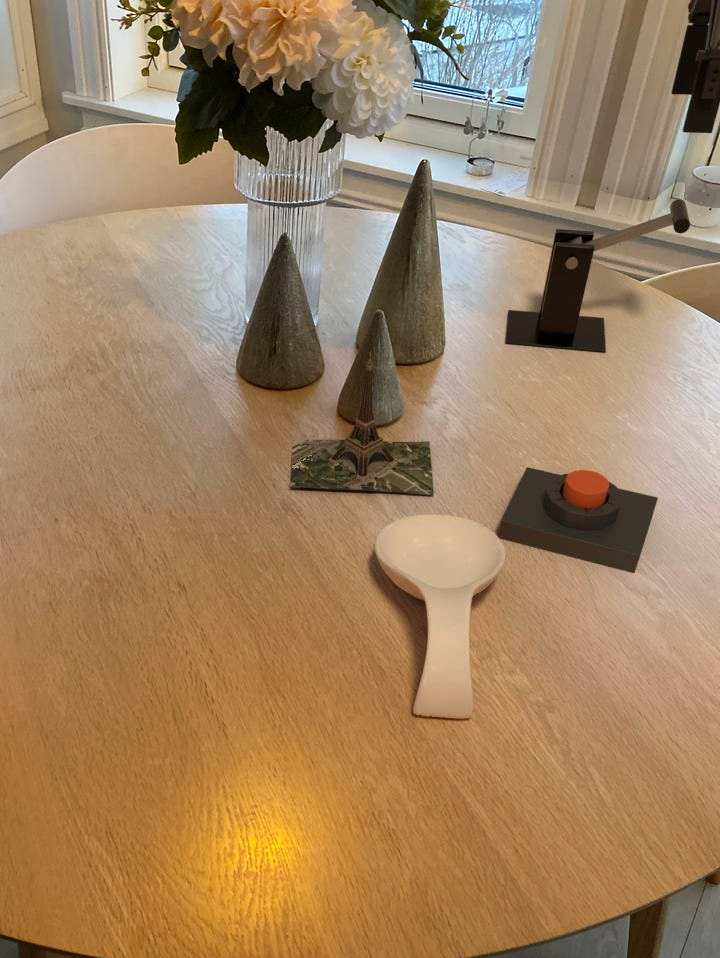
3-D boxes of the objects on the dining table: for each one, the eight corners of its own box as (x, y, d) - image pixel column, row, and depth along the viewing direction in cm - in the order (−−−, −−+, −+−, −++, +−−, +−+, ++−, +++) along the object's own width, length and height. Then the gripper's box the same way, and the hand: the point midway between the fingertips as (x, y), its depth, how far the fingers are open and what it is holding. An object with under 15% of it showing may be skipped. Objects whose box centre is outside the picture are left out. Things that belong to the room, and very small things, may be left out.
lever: (687, 213, 115) (683, 193, 114) (692, 233, 111) (688, 213, 110) (562, 256, 122) (557, 238, 120) (562, 277, 117) (557, 258, 116)
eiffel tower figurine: (287, 493, 103) (288, 376, 94) (292, 439, 110) (294, 327, 101) (433, 498, 102) (449, 381, 92) (429, 444, 109) (443, 330, 100)
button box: (652, 515, 99) (663, 481, 96) (634, 574, 92) (645, 540, 90) (523, 484, 103) (529, 451, 100) (497, 538, 97) (503, 505, 94)
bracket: (601, 327, 128) (626, 227, 119) (603, 360, 122) (629, 257, 113) (506, 319, 130) (524, 220, 121) (503, 351, 124) (521, 249, 115)
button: (608, 490, 96) (613, 475, 95) (600, 513, 93) (604, 497, 92) (567, 480, 97) (571, 465, 96) (557, 502, 95) (561, 487, 93)
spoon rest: (371, 538, 97) (377, 476, 92) (493, 543, 96) (505, 481, 91) (371, 718, 80) (378, 655, 75) (519, 726, 79) (536, 663, 74)
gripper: (697, -157, 100) (645, 79, 114) (727, -125, 82) (662, 148, 97) (777, -158, 98) (714, 80, 113) (825, -127, 81) (744, 151, 95)
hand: (690, 112), depth 105 cm, fingers open, 13 cm apart
